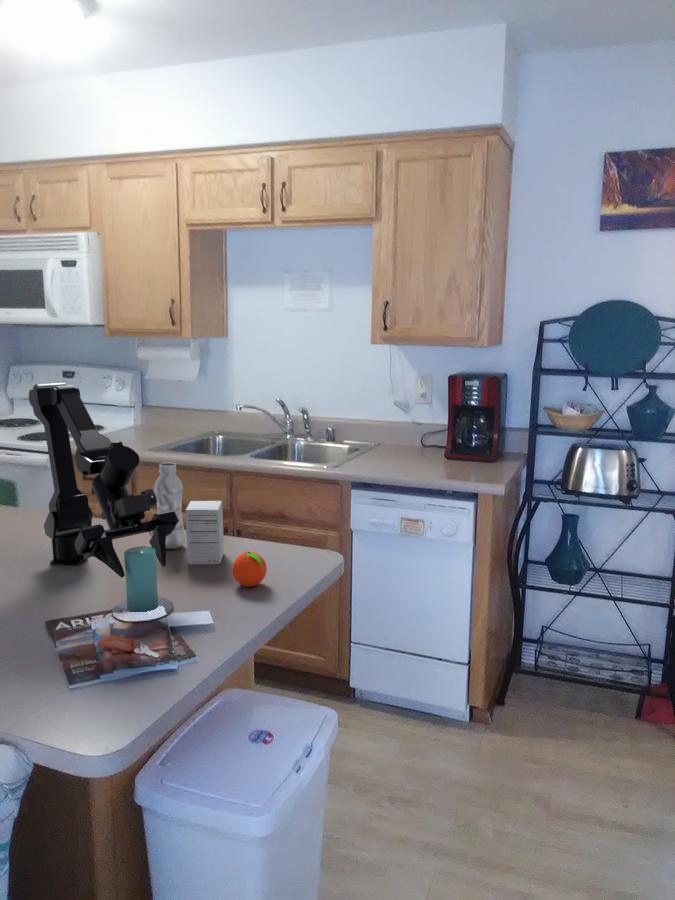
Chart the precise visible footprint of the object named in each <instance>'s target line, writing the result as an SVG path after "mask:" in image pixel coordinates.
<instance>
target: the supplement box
mask: <svg viewBox="0 0 675 900" xmlns="http://www.w3.org/2000/svg"><path fill="white" fill-rule="evenodd" d="M223 513H224V512H223V501H222V500H190V502H189V503H188V505H187V507H186V508H185V528H186V531H185V535H186V551H187V552H186V553H187V554H186V555H187V564H188V565H220V564H221V562H222V560H223V557H224V553H225V543H224V520H223V519H224V516H223ZM219 563H220V564H219Z"/></svg>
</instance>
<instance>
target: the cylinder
mask: <svg viewBox="0 0 675 900" xmlns="http://www.w3.org/2000/svg"><path fill="white" fill-rule="evenodd" d="M123 552H124V553H123V555H124V556H123V559H124V573H125V575H124V578H125V593H126V594H125V595H126V600H127V610H128V611H130V612H147V611H151V610H154V609H156V608H157V607H158V597H159V591H158V590H159V589H158V573H157V570H158V569H157V556H156V550H155V548H152V546H147V545H146V546H135V547H131V548H127V549H126V550H125V551H123Z"/></svg>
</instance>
